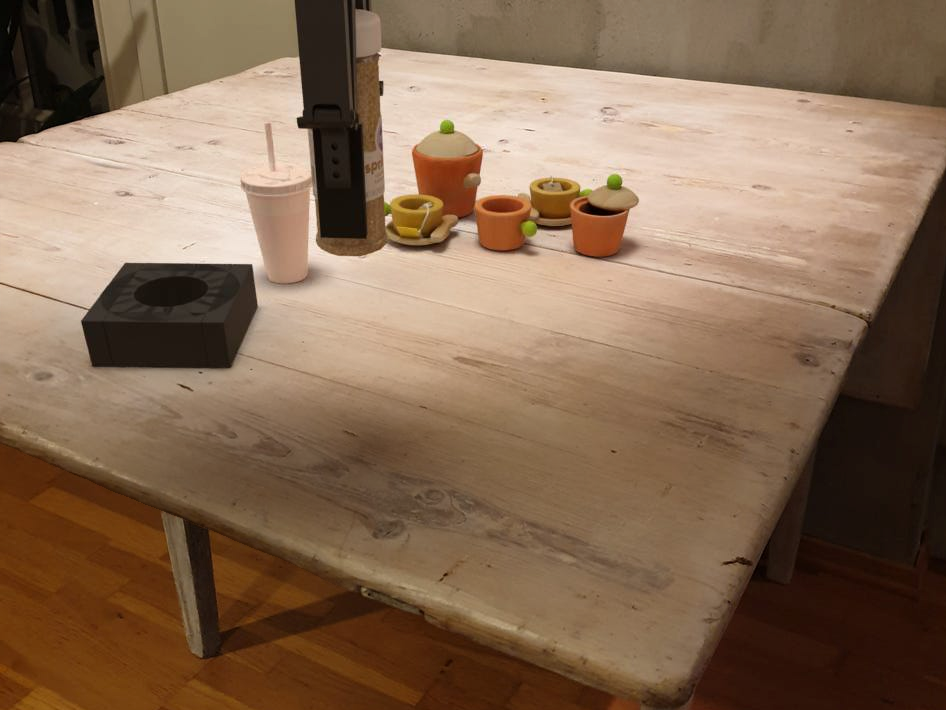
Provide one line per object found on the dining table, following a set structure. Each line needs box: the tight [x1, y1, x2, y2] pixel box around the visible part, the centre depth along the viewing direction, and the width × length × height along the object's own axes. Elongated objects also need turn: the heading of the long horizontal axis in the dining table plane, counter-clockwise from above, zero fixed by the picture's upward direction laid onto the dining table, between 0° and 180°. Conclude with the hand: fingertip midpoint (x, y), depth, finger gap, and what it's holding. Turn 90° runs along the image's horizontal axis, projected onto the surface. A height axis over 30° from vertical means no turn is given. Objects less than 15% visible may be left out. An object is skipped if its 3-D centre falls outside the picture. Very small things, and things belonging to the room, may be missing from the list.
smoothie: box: [239, 121, 313, 285], centre depth 87 cm, size 6×6×14 cm
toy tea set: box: [384, 119, 640, 258], centre depth 98 cm, size 26×16×10 cm, turn 81°
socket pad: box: [80, 262, 259, 369], centre depth 80 cm, size 11×11×4 cm
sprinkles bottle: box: [307, 9, 389, 257], centre depth 57 cm, size 5×5×14 cm
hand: (349, 219), depth 60 cm, fingers closed on sprinkles bottle, 4 cm apart
